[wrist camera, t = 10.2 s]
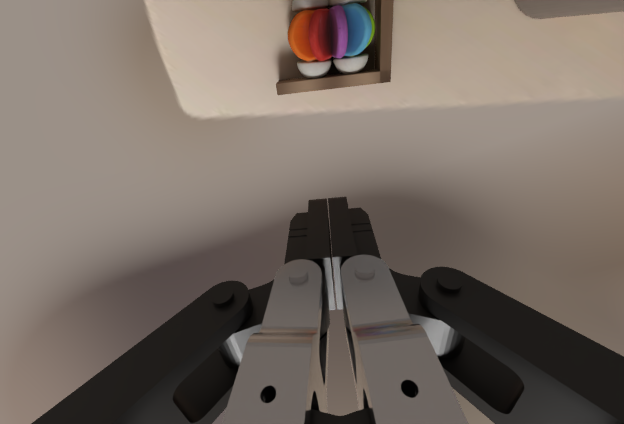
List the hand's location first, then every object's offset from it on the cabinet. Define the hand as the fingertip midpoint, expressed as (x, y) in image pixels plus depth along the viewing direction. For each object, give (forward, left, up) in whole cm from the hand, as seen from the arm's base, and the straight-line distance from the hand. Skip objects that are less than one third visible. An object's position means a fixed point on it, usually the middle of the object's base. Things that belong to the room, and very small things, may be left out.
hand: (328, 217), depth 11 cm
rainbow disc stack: (-2, -7, -29) cm, 30 cm away
